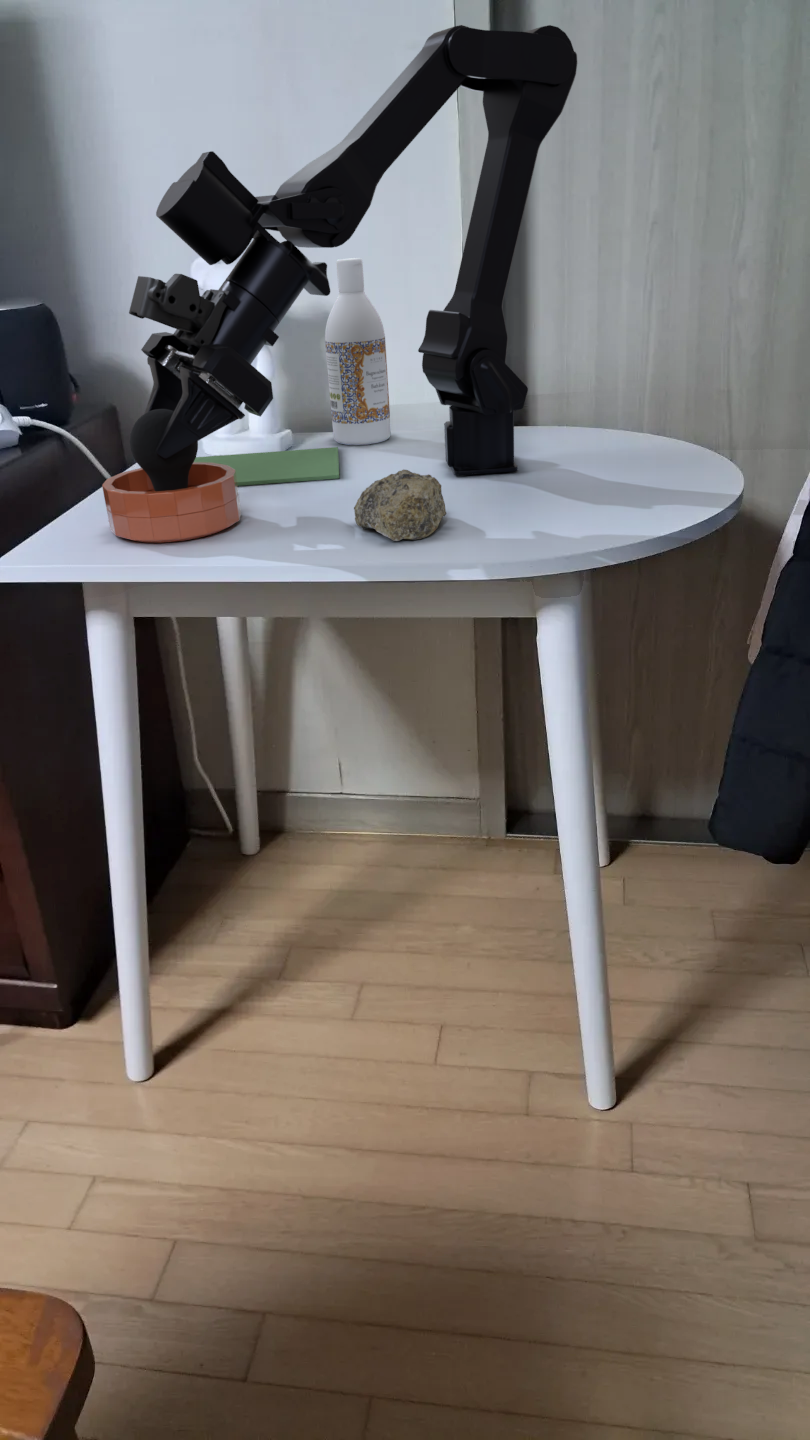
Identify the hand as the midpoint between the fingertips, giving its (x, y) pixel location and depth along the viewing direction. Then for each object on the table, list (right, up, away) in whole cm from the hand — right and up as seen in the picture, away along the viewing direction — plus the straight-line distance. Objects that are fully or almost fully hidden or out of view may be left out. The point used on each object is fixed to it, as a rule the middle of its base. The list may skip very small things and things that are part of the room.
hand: (149, 450), depth 90 cm
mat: (+5, +4, +23) cm, 24 cm away
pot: (+2, -6, +4) cm, 7 cm away
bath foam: (+17, +10, +34) cm, 39 cm away
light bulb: (+2, -6, +4) cm, 7 cm away
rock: (+22, -7, -1) cm, 23 cm away
